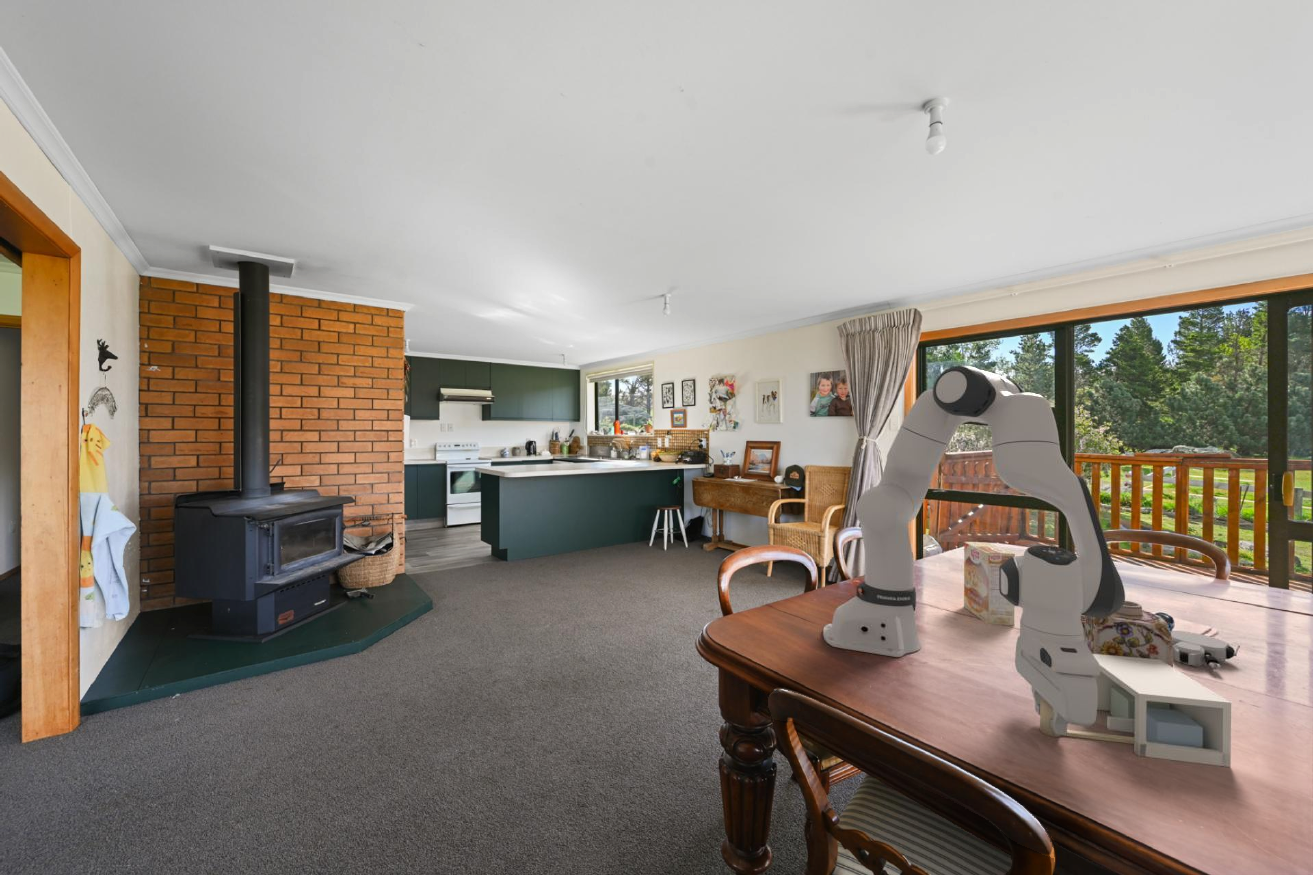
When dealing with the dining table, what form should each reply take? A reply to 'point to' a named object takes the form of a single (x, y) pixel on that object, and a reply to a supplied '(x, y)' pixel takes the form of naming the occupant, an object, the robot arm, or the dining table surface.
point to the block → (1129, 703)
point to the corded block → (1159, 728)
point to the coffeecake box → (986, 583)
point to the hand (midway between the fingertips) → (1050, 723)
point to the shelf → (1181, 695)
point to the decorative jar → (1130, 634)
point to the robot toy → (1200, 649)
